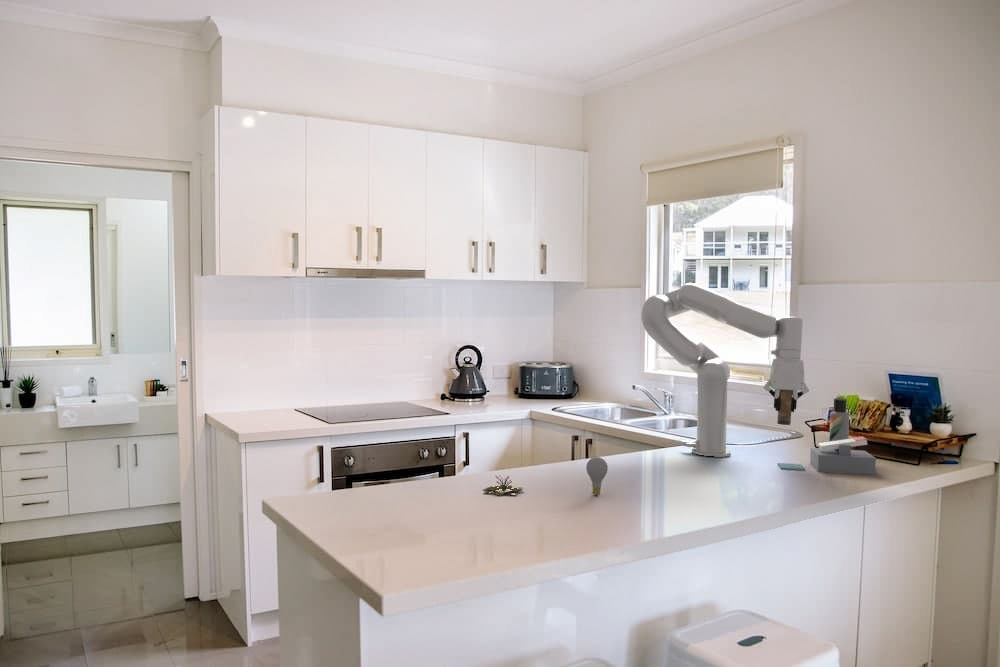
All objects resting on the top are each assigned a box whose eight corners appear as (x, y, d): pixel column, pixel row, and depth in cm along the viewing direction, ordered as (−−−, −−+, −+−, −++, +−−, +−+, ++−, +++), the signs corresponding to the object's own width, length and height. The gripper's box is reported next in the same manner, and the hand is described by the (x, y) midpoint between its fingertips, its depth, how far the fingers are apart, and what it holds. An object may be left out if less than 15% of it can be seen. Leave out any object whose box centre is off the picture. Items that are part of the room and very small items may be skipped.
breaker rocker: (822, 451, 230) (821, 445, 230) (819, 448, 235) (818, 442, 235) (867, 444, 227) (866, 438, 227) (863, 441, 232) (862, 436, 232)
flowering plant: (520, 500, 190) (521, 482, 190) (475, 497, 193) (475, 479, 192) (530, 489, 201) (530, 472, 201) (487, 486, 204) (487, 469, 204)
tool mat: (781, 469, 230) (781, 467, 230) (777, 464, 236) (777, 462, 236) (805, 470, 228) (805, 468, 228) (801, 465, 235) (801, 464, 235)
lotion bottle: (844, 456, 251) (846, 397, 250) (850, 460, 245) (852, 399, 244) (826, 456, 251) (828, 396, 250) (832, 459, 246) (834, 398, 245)
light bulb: (608, 494, 196) (609, 456, 195) (604, 499, 190) (605, 460, 190) (588, 492, 197) (589, 454, 197) (583, 497, 192) (584, 458, 192)
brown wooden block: (778, 424, 241) (781, 381, 241) (776, 422, 245) (779, 379, 245) (791, 425, 240) (794, 381, 240) (789, 423, 244) (792, 380, 244)
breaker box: (818, 471, 227) (818, 445, 227) (810, 463, 239) (810, 438, 238) (875, 474, 224) (876, 448, 223) (864, 466, 235) (865, 441, 235)
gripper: (762, 354, 240) (759, 410, 241) (818, 357, 236) (814, 414, 237) (759, 352, 247) (756, 407, 248) (813, 355, 244) (809, 411, 245)
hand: (784, 410), depth 243 cm, fingers closed on brown wooden block, 4 cm apart
